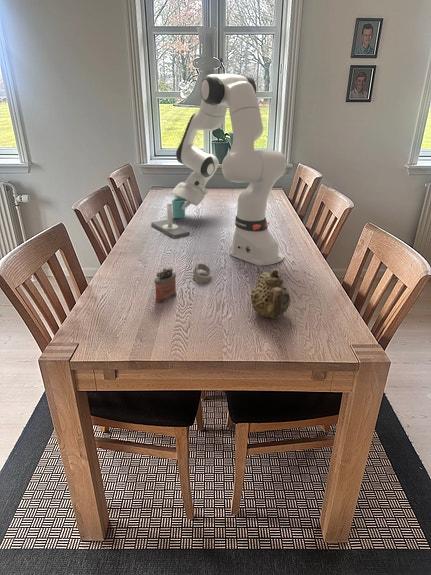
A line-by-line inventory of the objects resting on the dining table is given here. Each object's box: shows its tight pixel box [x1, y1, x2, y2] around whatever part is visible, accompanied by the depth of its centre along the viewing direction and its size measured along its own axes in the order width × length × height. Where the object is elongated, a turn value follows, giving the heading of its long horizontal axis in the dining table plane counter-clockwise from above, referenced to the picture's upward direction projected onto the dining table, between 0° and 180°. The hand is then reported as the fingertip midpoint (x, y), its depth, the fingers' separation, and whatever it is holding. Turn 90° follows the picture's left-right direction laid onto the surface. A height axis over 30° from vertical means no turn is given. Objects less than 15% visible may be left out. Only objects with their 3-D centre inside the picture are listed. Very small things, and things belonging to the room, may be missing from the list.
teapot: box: [250, 268, 292, 320], centre depth 119 cm, size 21×12×15 cm, turn 4°
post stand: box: [150, 202, 191, 239], centre depth 183 cm, size 20×8×13 cm, turn 37°
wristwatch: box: [193, 262, 212, 284], centre depth 142 cm, size 9×6×5 cm
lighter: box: [154, 267, 177, 304], centre depth 127 cm, size 8×3×10 cm, turn 141°
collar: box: [171, 198, 186, 219], centre depth 198 cm, size 6×6×8 cm
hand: (177, 207), depth 198 cm, fingers closed on collar, 6 cm apart
